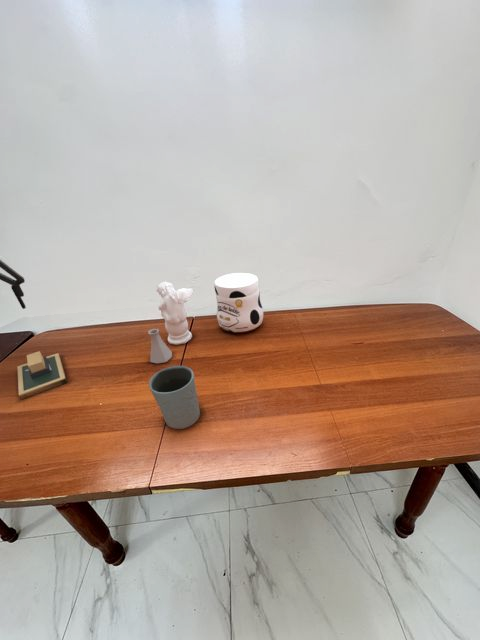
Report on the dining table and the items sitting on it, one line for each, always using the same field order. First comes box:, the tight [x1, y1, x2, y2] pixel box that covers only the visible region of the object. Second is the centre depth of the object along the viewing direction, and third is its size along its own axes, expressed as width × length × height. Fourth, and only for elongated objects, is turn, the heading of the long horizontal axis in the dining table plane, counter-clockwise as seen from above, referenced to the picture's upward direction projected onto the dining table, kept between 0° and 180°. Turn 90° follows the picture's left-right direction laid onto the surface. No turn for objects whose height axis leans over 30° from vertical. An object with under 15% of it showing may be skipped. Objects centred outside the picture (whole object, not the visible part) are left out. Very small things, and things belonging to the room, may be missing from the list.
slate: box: [16, 352, 68, 400], centre depth 91 cm, size 18×12×2 cm, turn 37°
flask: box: [147, 328, 173, 364], centre depth 94 cm, size 7×7×10 cm
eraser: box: [26, 350, 51, 378], centre depth 92 cm, size 9×5×4 cm, turn 37°
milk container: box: [213, 272, 264, 334], centre depth 107 cm, size 17×17×18 cm
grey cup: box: [148, 365, 201, 430], centre depth 70 cm, size 10×10×12 cm
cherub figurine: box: [156, 281, 195, 346], centre depth 100 cm, size 12×12×22 cm
